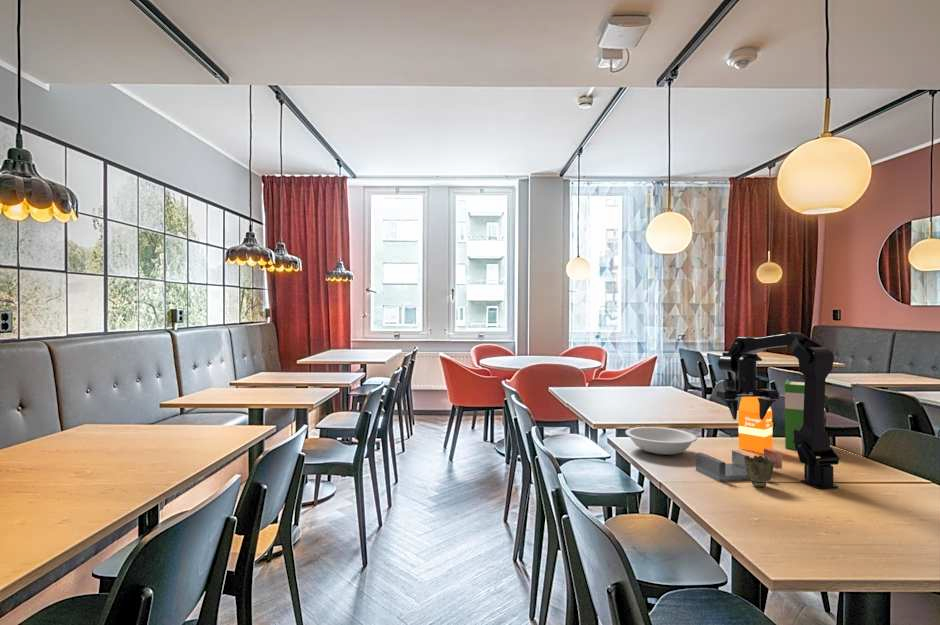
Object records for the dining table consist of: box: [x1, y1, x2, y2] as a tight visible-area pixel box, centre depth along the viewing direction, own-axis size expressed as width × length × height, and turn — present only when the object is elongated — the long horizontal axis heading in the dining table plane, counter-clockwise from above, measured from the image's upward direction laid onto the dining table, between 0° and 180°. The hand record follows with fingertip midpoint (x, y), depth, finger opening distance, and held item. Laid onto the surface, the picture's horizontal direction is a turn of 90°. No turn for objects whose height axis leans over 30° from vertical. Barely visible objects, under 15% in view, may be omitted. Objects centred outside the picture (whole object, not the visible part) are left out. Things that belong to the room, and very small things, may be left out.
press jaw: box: [731, 448, 783, 470], centre depth 150 cm, size 11×11×5 cm
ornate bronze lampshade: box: [744, 455, 774, 488], centre depth 137 cm, size 8×7×8 cm
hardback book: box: [784, 379, 805, 451], centre depth 183 cm, size 18×7×24 cm, turn 145°
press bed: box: [695, 452, 750, 482], centre depth 148 cm, size 11×15×6 cm
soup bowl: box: [624, 426, 698, 455], centre depth 173 cm, size 24×24×7 cm
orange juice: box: [738, 397, 773, 454], centre depth 177 cm, size 8×9×20 cm
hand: (748, 419), depth 163 cm, fingers open, 9 cm apart
